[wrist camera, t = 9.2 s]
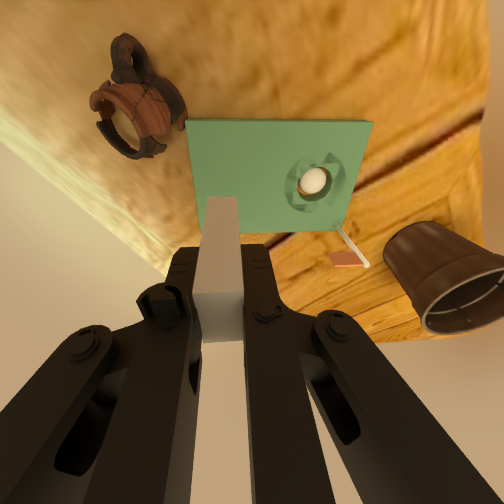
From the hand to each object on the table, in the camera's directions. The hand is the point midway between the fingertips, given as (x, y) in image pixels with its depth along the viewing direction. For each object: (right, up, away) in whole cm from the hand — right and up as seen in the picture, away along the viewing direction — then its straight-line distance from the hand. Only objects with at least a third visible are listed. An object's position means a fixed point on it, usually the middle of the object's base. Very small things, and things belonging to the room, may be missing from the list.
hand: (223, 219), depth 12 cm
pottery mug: (-12, +18, +16) cm, 27 cm away
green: (+5, +10, +23) cm, 26 cm away
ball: (+11, +9, +22) cm, 26 cm away
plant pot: (+35, 0, +35) cm, 49 cm away
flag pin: (+14, +5, +28) cm, 32 cm away
